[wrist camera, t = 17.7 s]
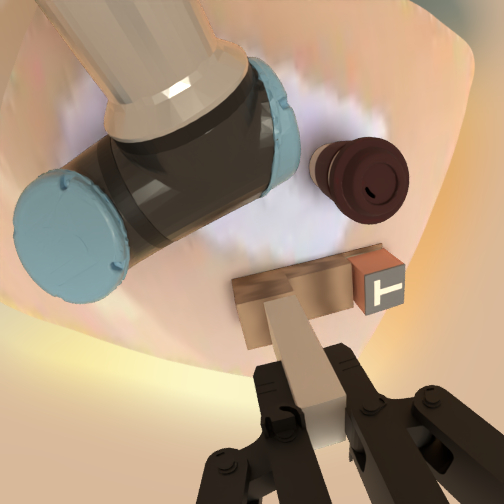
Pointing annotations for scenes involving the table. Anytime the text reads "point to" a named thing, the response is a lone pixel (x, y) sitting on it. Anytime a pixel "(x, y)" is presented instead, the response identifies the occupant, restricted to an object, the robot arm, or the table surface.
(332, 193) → the coffee cup
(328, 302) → the stair
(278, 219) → the table surface
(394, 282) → the block
